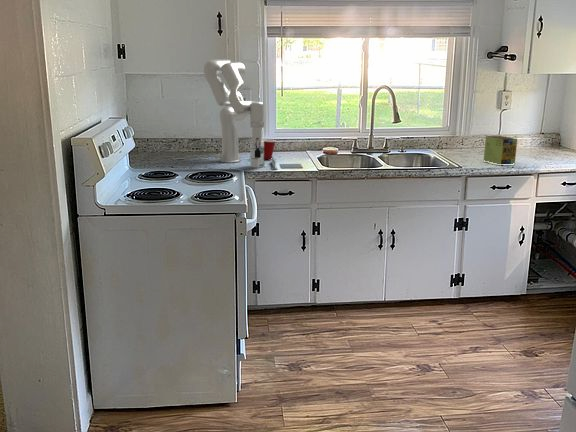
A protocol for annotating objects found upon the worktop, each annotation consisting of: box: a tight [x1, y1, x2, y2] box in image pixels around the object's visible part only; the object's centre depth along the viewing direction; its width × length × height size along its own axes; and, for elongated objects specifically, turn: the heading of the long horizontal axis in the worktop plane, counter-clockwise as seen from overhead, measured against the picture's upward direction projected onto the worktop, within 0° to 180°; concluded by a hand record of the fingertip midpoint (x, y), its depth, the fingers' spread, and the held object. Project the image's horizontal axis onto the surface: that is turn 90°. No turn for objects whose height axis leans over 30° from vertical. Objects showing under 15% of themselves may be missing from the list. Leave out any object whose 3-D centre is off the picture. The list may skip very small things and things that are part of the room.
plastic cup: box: [262, 138, 277, 160], centre depth 359 cm, size 11×11×12 cm
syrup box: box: [249, 140, 265, 169], centre depth 334 cm, size 6×6×14 cm
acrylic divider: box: [269, 154, 278, 171], centre depth 336 cm, size 3×20×5 cm, turn 5°
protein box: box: [483, 135, 518, 164], centre depth 350 cm, size 10×15×16 cm
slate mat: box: [279, 163, 304, 169], centre depth 338 cm, size 12×12×1 cm
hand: (257, 156), depth 334 cm, fingers closed on syrup box, 7 cm apart
